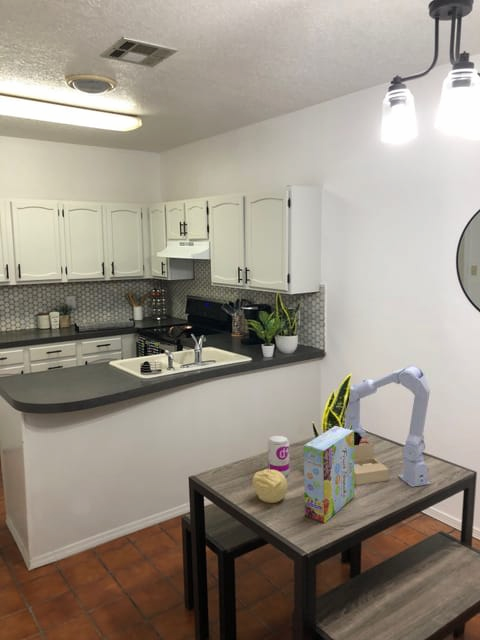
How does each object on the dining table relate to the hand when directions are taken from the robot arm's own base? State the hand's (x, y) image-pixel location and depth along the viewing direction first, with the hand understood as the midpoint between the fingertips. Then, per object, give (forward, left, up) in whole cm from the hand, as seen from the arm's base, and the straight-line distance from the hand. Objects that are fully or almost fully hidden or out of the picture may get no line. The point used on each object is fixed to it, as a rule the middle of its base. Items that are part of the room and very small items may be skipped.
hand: (352, 447), depth 210 cm
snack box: (-28, +23, -8) cm, 37 cm away
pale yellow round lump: (-17, +41, -8) cm, 45 cm away
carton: (-11, 0, -7) cm, 13 cm away
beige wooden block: (-5, 0, 0) cm, 5 cm away
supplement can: (0, +32, -8) cm, 33 cm away
